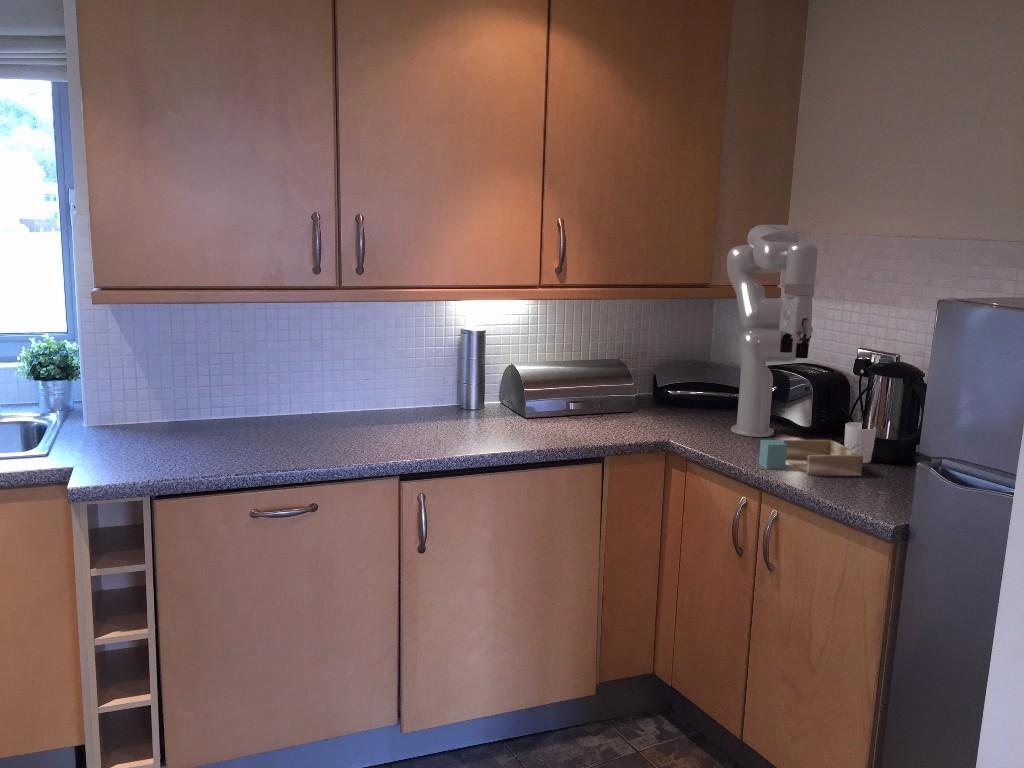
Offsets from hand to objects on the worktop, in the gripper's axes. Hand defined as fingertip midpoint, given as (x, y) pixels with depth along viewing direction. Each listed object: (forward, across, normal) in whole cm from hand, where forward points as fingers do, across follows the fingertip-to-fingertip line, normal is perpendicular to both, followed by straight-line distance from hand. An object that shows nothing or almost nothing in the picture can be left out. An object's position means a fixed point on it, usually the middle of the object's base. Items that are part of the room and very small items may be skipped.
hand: (793, 355), depth 234 cm
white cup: (+28, +4, +19) cm, 34 cm away
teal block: (+28, +10, -8) cm, 31 cm away
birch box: (+28, +10, +5) cm, 31 cm away
